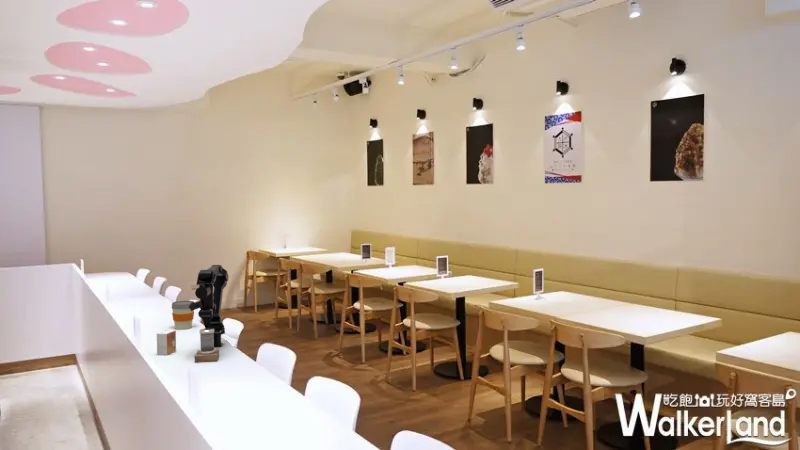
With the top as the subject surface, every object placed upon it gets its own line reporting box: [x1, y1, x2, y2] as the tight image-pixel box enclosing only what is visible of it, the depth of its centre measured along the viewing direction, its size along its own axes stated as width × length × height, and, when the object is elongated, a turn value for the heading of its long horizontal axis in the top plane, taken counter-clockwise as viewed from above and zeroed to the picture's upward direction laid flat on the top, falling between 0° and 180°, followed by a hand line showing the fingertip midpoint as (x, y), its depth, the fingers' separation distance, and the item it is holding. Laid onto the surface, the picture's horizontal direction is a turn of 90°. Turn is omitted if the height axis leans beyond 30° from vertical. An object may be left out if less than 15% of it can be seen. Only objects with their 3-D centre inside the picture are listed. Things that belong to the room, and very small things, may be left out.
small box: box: [156, 329, 177, 356], centre depth 290 cm, size 8×6×10 cm
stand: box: [194, 349, 220, 363], centre depth 279 cm, size 10×10×3 cm
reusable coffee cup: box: [171, 300, 195, 331], centre depth 343 cm, size 13×13×15 cm
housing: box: [199, 327, 216, 355], centre depth 279 cm, size 7×7×11 cm
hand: (207, 326), depth 289 cm, fingers open, 9 cm apart
